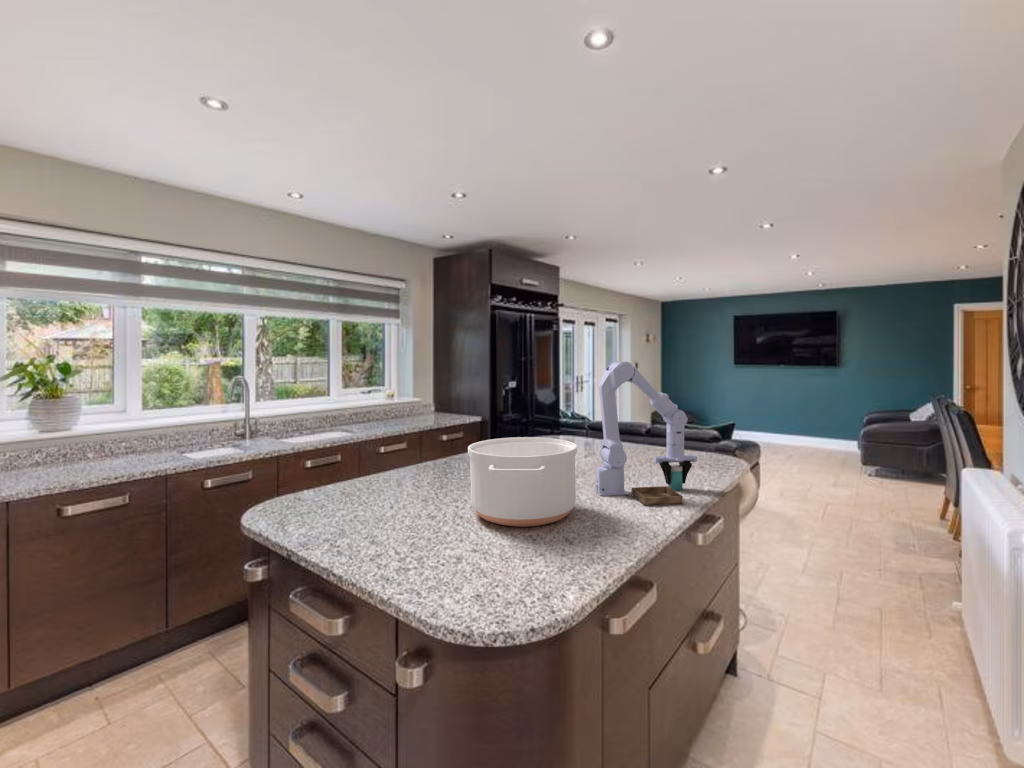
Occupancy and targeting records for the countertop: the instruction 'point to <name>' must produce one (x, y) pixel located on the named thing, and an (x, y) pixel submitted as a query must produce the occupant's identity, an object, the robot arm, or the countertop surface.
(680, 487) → the shaker
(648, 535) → the countertop surface
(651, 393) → the robot arm
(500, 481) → the pot
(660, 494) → the tray
